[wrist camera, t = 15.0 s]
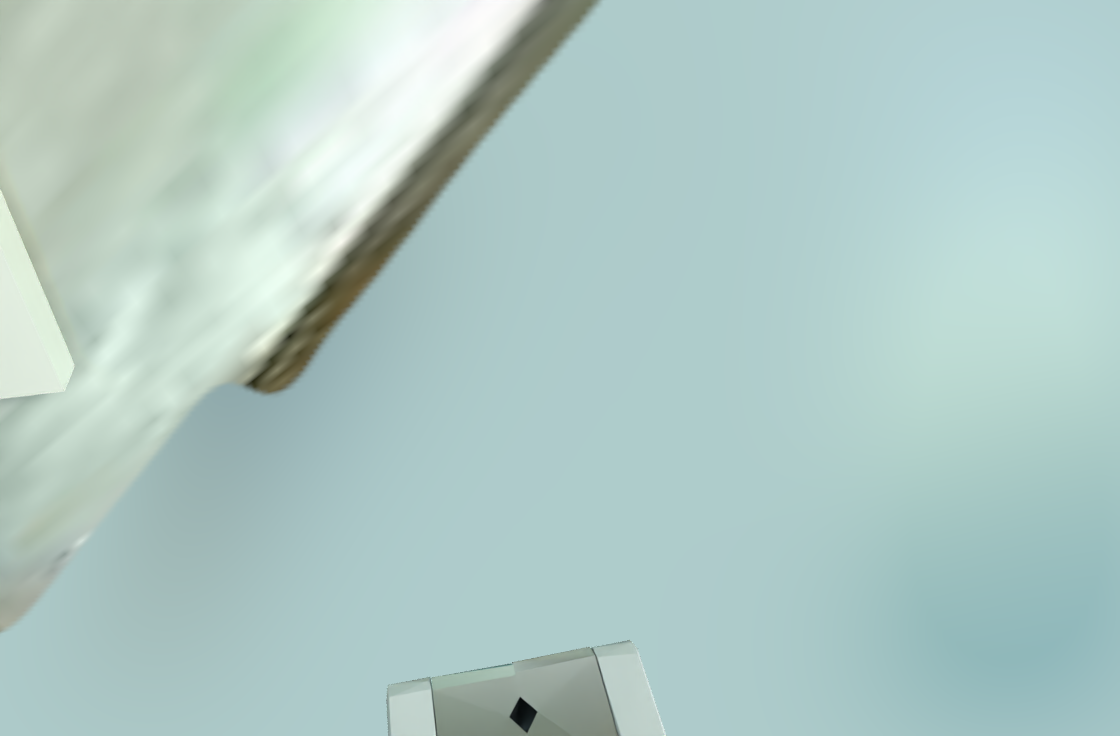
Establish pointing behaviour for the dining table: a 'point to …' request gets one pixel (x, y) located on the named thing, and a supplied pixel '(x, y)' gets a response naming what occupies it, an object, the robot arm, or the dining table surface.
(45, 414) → the dining table surface
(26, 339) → the tile
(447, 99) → the dining table surface
